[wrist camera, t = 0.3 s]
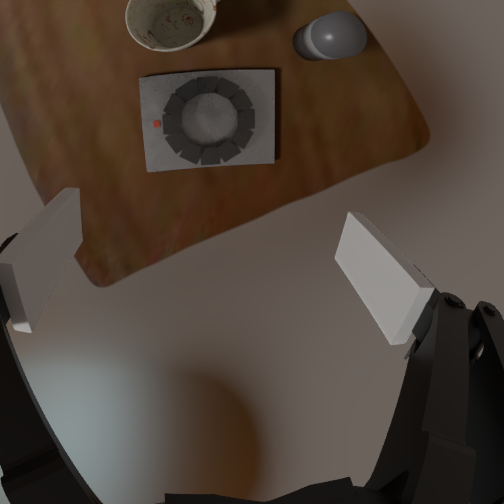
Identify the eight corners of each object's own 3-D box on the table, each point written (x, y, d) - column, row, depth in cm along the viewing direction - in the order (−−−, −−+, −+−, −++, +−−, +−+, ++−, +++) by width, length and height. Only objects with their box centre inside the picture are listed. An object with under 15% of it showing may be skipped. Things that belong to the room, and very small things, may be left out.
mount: (140, 78, 33) (135, 77, 30) (273, 70, 34) (278, 69, 32) (148, 170, 39) (144, 176, 36) (272, 161, 40) (277, 167, 38)
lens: (292, 23, 31) (319, 7, 23) (330, 27, 32) (367, 15, 24) (292, 60, 34) (320, 54, 25) (330, 63, 35) (367, 60, 26)
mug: (130, 30, 29) (107, 15, 21) (210, -33, 26) (213, -65, 18) (174, 72, 33) (164, 68, 24) (254, 9, 30) (271, -12, 22)
